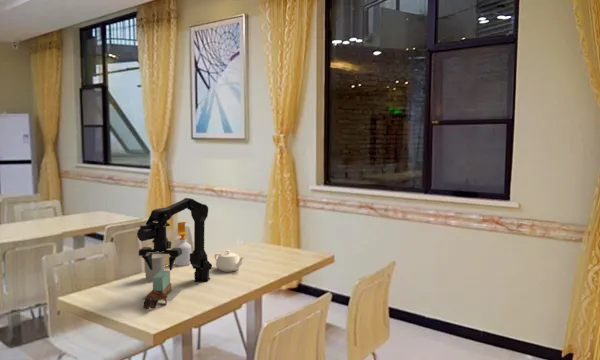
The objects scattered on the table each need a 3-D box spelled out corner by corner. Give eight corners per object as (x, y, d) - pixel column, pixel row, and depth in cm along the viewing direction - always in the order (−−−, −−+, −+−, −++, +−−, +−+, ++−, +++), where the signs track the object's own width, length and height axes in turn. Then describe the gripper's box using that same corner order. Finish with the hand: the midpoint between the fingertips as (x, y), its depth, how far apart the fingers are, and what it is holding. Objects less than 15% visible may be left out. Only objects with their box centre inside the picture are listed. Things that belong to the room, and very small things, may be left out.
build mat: (182, 291, 230) (181, 290, 230) (171, 301, 216) (171, 300, 216) (153, 290, 232) (153, 289, 232) (141, 300, 218) (141, 299, 218)
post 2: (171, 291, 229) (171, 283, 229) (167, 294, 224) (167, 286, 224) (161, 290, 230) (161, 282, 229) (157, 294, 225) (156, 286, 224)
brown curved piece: (142, 305, 214) (150, 287, 216) (162, 313, 215) (170, 295, 217) (139, 308, 202) (148, 289, 204) (160, 316, 204) (169, 298, 206)
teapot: (206, 269, 265) (205, 250, 264) (223, 263, 276) (223, 245, 275) (236, 276, 253) (235, 256, 251) (253, 270, 264) (252, 250, 262)
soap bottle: (177, 267, 269) (176, 223, 266) (173, 262, 277) (172, 220, 274) (193, 264, 273) (192, 222, 271) (189, 260, 281) (188, 219, 279)
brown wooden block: (167, 295, 224) (166, 286, 223) (162, 299, 219) (162, 290, 218) (156, 294, 224) (156, 286, 224) (152, 298, 219) (152, 290, 219)
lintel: (160, 282, 229) (160, 270, 228) (170, 282, 229) (169, 270, 228) (153, 290, 218) (152, 277, 218) (162, 290, 218) (162, 277, 217)
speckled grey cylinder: (159, 282, 243) (158, 258, 241) (142, 281, 245) (141, 257, 243) (168, 276, 252) (167, 253, 251) (151, 275, 254) (150, 253, 252)
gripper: (185, 233, 228) (186, 265, 230) (147, 232, 230) (148, 264, 232) (177, 238, 217) (178, 272, 219) (137, 237, 219) (138, 271, 221)
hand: (161, 270), depth 223 cm, fingers open, 9 cm apart
